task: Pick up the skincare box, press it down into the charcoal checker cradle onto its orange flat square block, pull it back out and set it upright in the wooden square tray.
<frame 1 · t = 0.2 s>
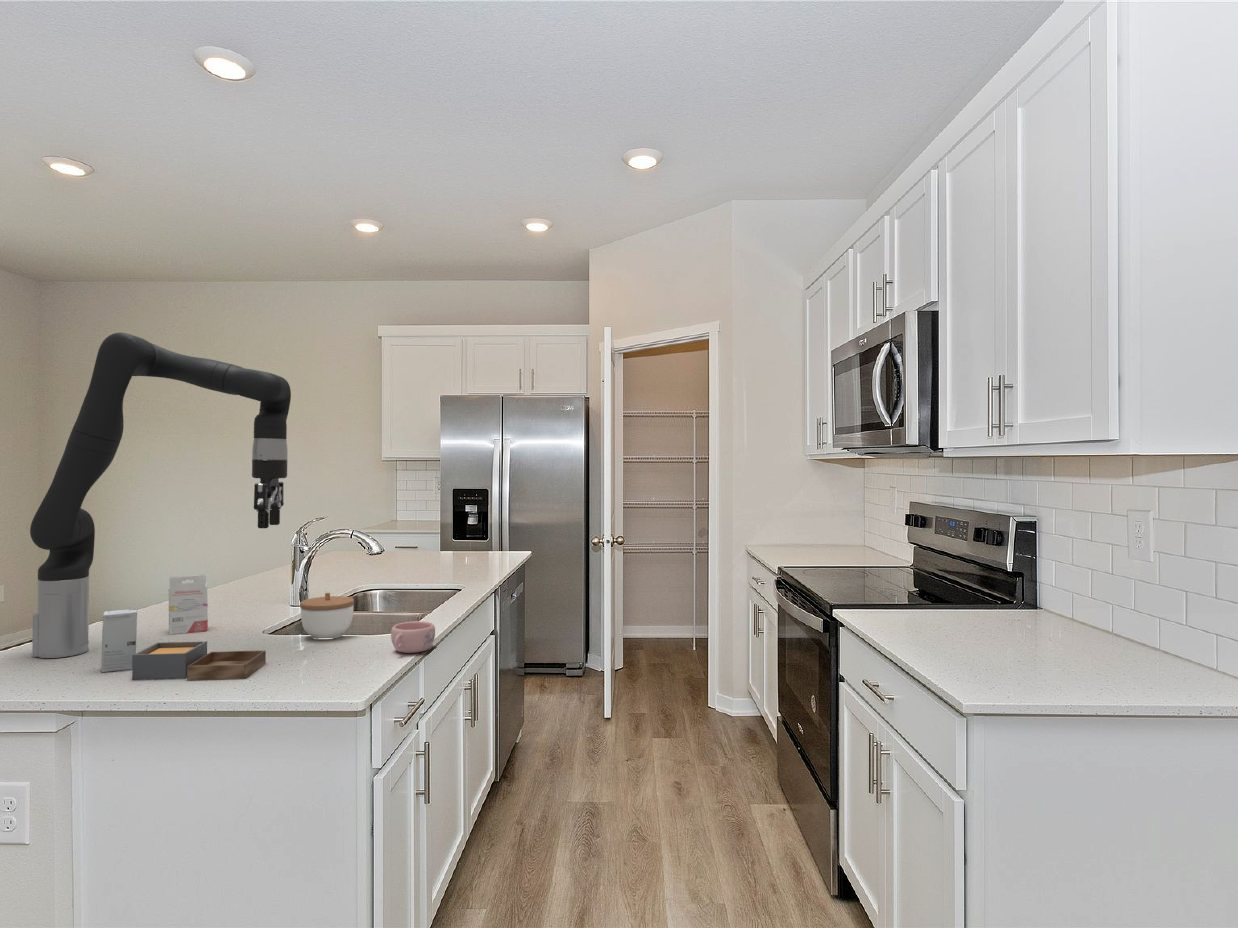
hand: (268, 526, 168), 29 cm above the countertop, tool pointing down, fingers open, 8 cm apart
skincare box: (119, 669, 150), on the countertop
wooden square tray: (227, 671, 149), on the countertop
orange flat square block: (171, 656, 148), point 3 cm above the countertop, slide at 0.0 cm
mug: (410, 652, 166), on the countertop
ink cartridge box: (188, 631, 184), on the countertop
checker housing: (171, 671, 148), on the countertop
lidded bowl: (327, 637, 179), on the countertop
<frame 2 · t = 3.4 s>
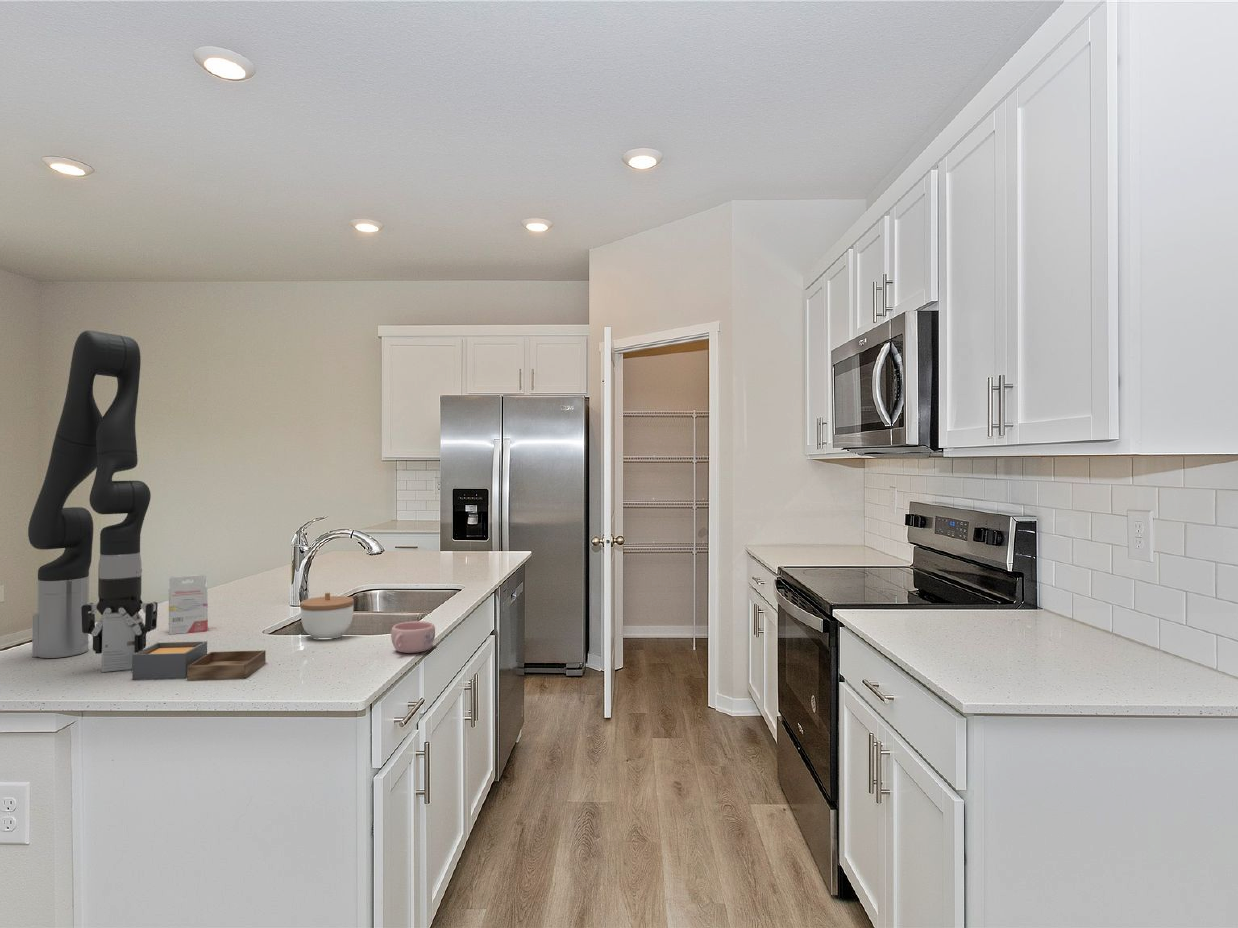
hand: (119, 652, 150), 3 cm above the countertop, tool pointing down, fingers closed on skincare box, 7 cm apart
skincare box: (119, 669, 150), on the countertop, touching gripper
everything else where it was.
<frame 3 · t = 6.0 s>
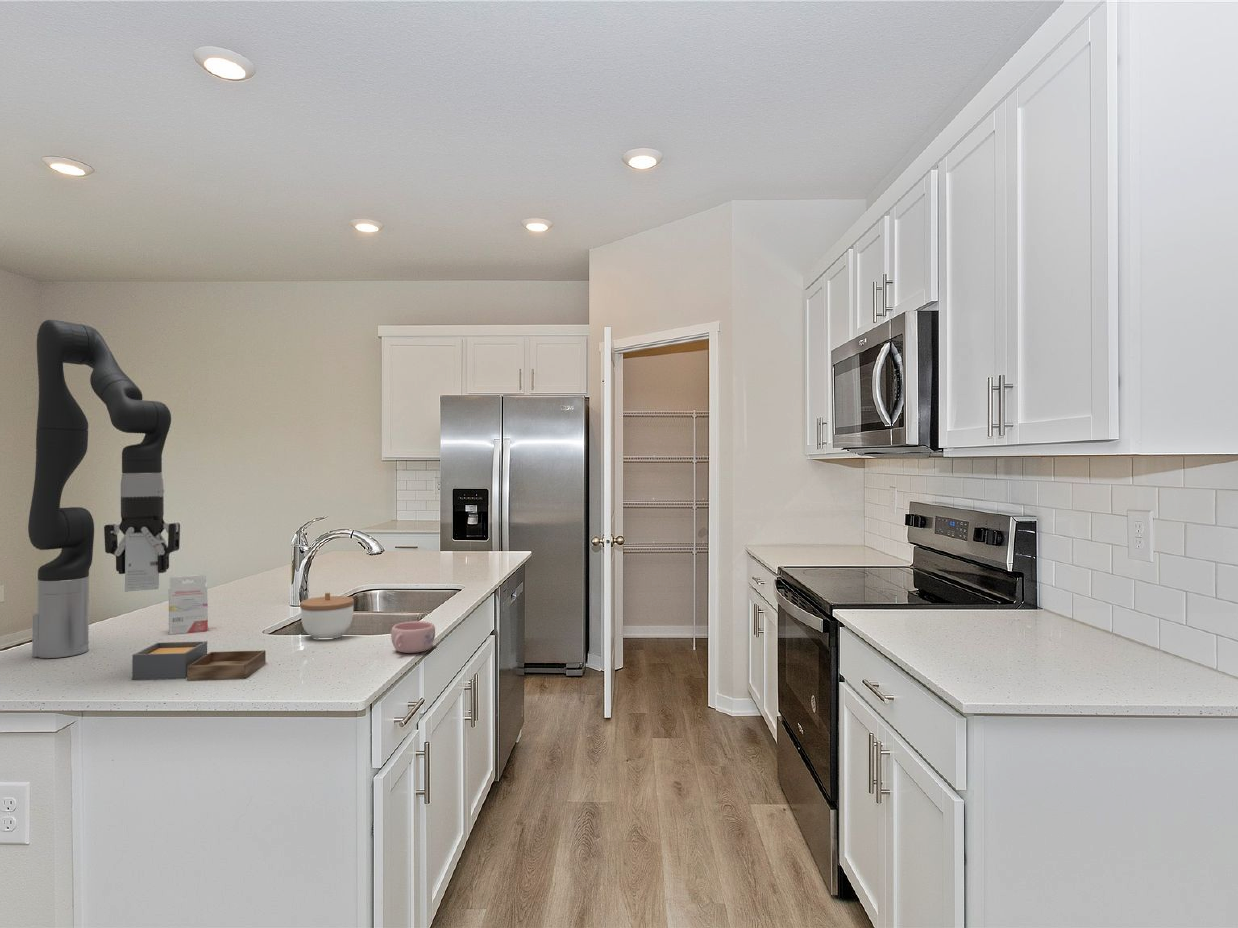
hand: (142, 572, 149), 20 cm above the countertop, tool pointing down, fingers closed on skincare box, 7 cm apart
skincare box: (142, 590, 149), point 17 cm above the countertop, touching gripper
everything else where it was.
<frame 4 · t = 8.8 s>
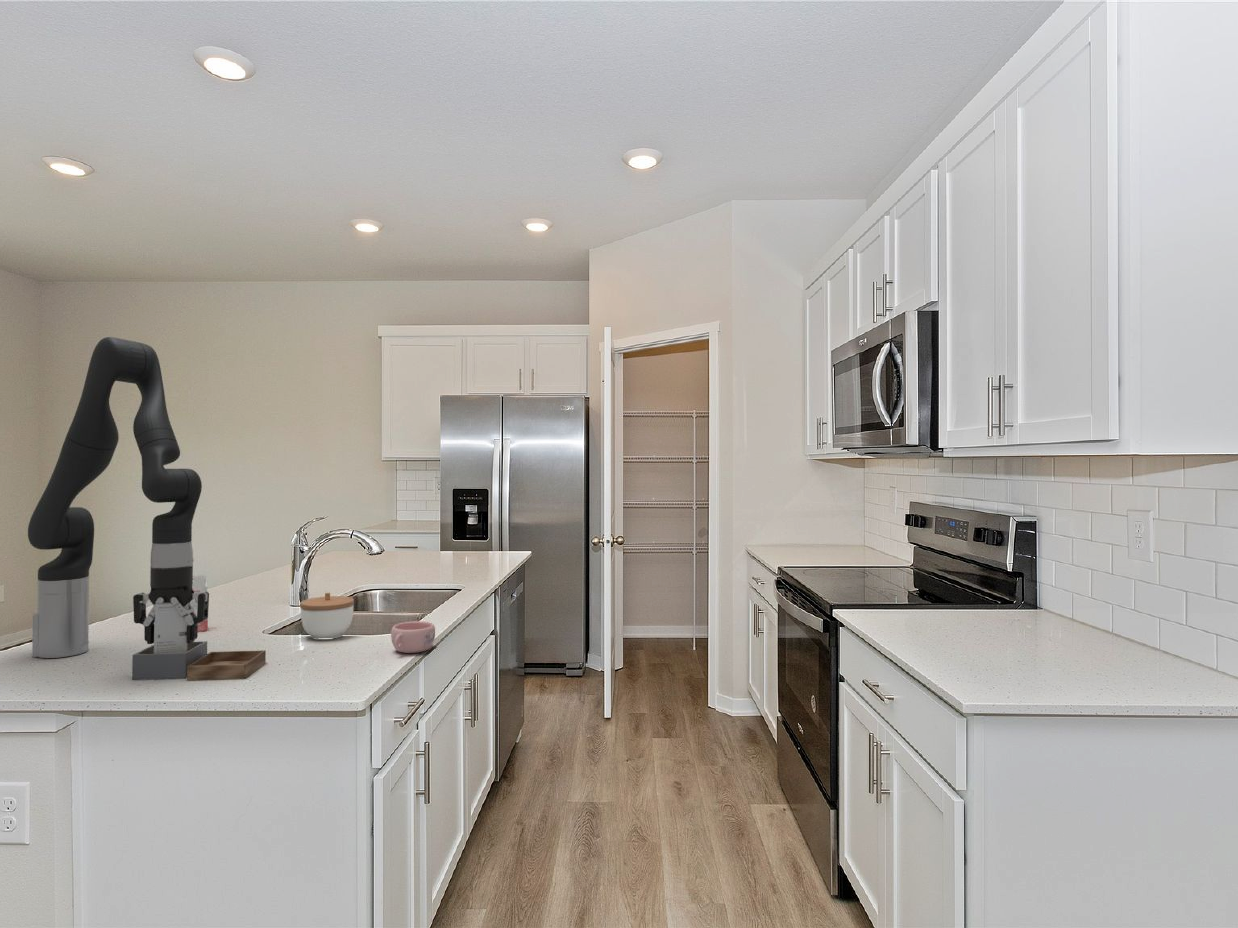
hand: (171, 642, 148), 6 cm above the countertop, tool pointing down, fingers closed on skincare box, 7 cm apart
skincare box: (171, 660, 148), point 2 cm above the countertop, touching orange flat square block, gripper
orange flat square block: (171, 662, 148), point 2 cm above the countertop, slide at 1.4 cm, touching skincare box
everything else where it was.
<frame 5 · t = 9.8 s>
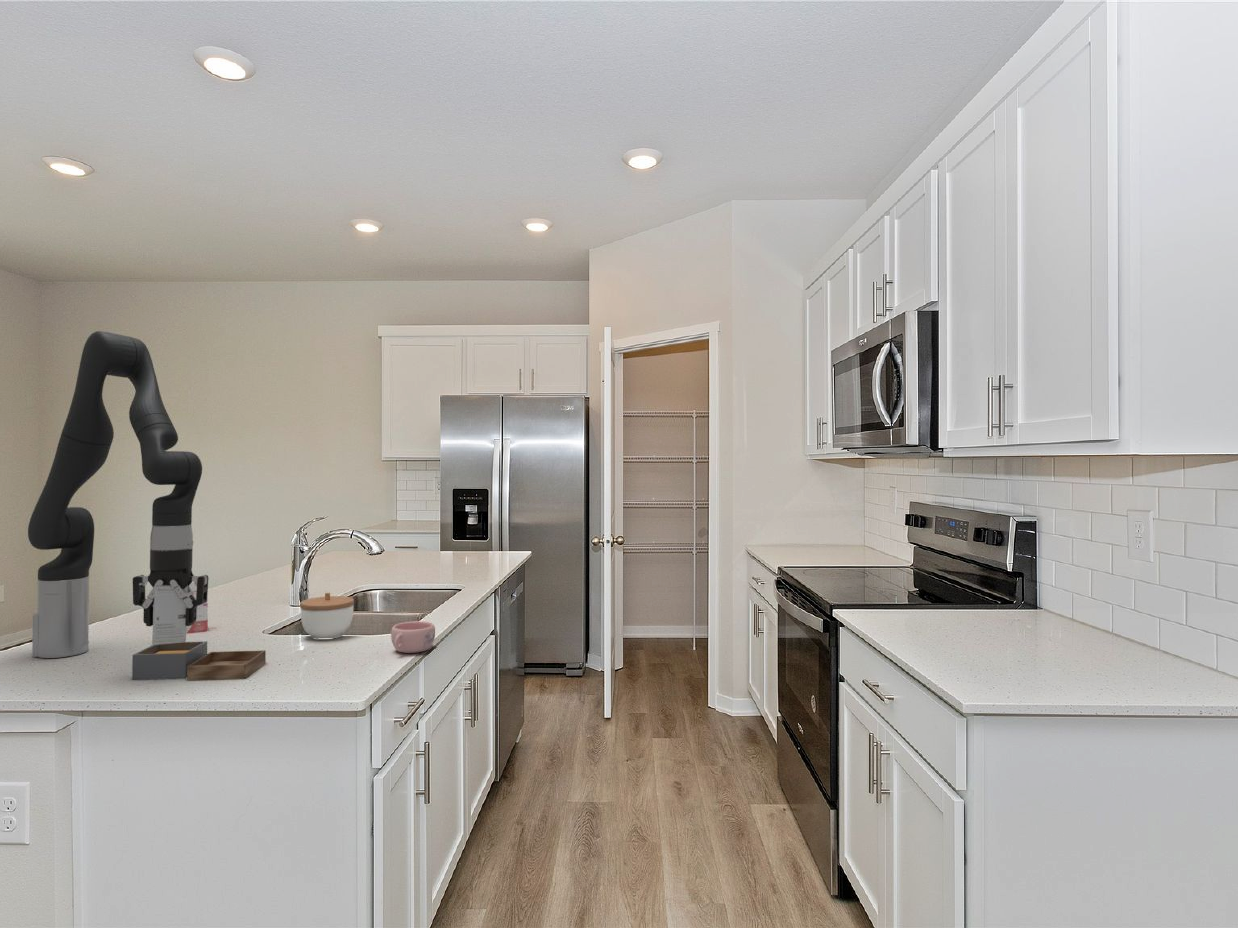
hand: (170, 625, 148), 10 cm above the countertop, tool pointing down, fingers closed on skincare box, 7 cm apart
skincare box: (169, 642, 148), point 6 cm above the countertop, touching gripper
orange flat square block: (171, 659, 148), point 3 cm above the countertop, slide at 0.6 cm
everything else where it was.
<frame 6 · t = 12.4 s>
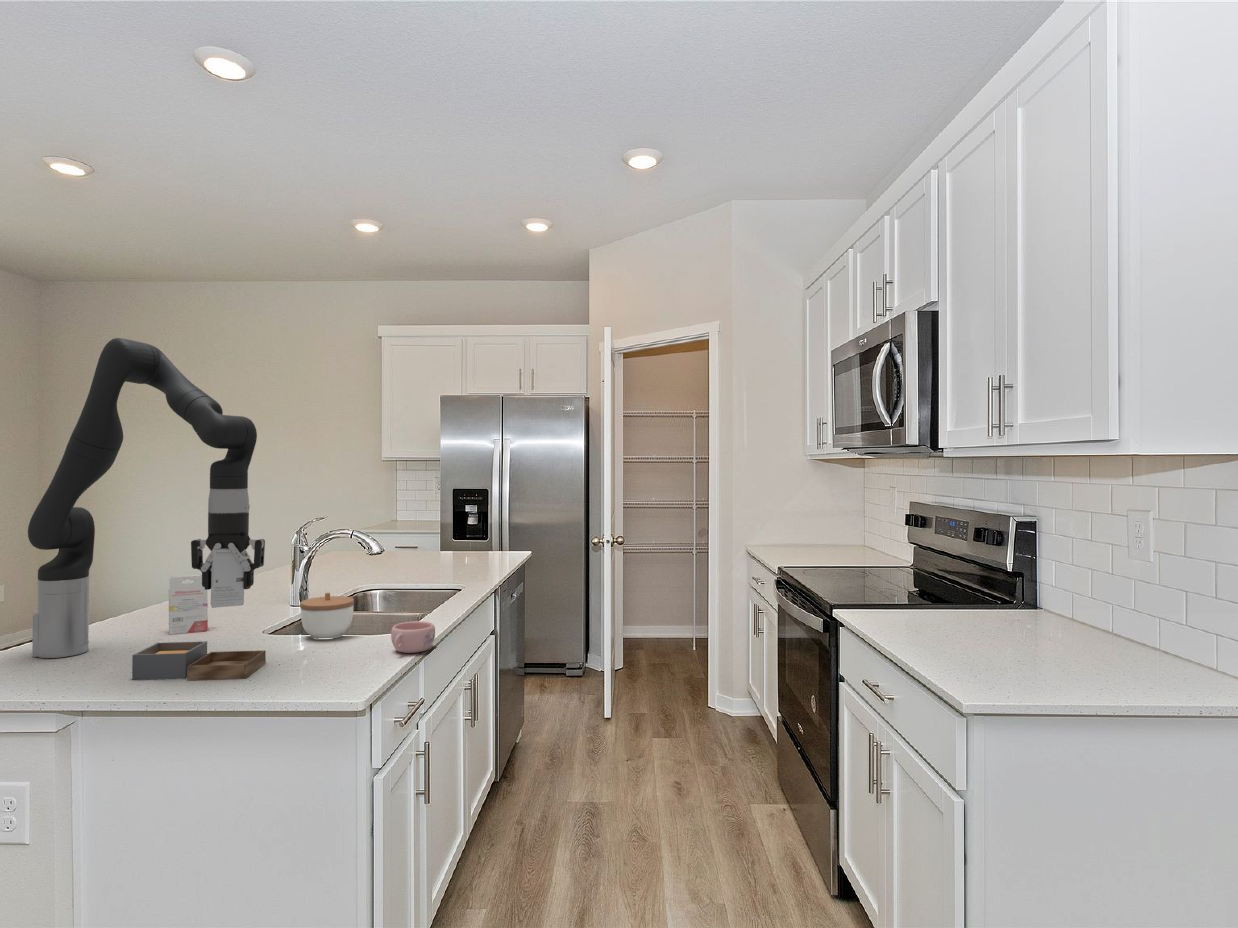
hand: (228, 588, 149), 17 cm above the countertop, tool pointing down, fingers closed on skincare box, 7 cm apart
skincare box: (227, 606, 149), point 14 cm above the countertop, touching gripper
everything else where it was.
when the fingers open (5 cm above the countertop, at t = 15.0 s): skincare box drops 1 cm, resting on wooden square tray.
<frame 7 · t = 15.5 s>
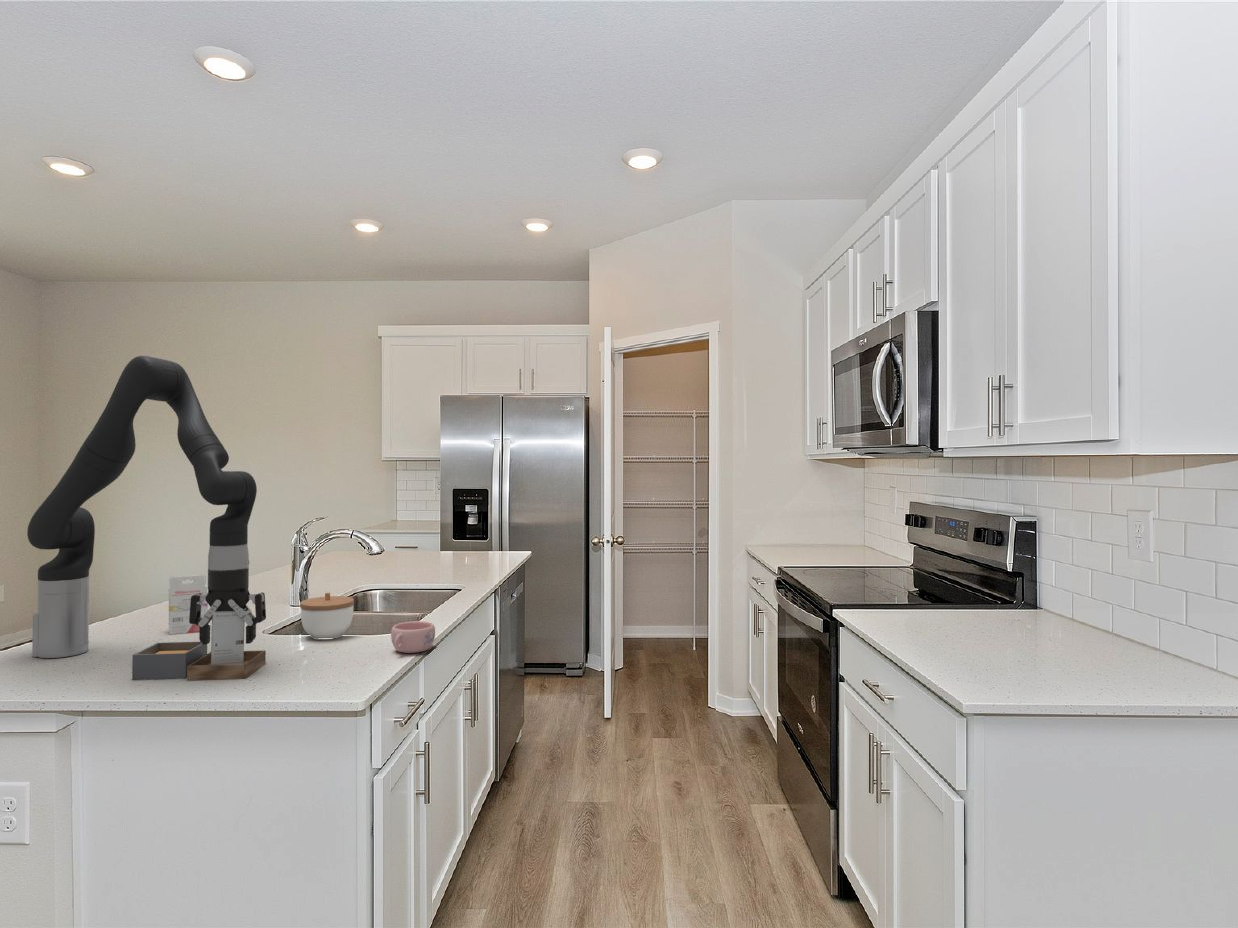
hand: (227, 643, 149), 6 cm above the countertop, tool pointing down, fingers open, 8 cm apart
skincare box: (227, 668, 149), point 1 cm above the countertop, touching wooden square tray
everything else where it was.
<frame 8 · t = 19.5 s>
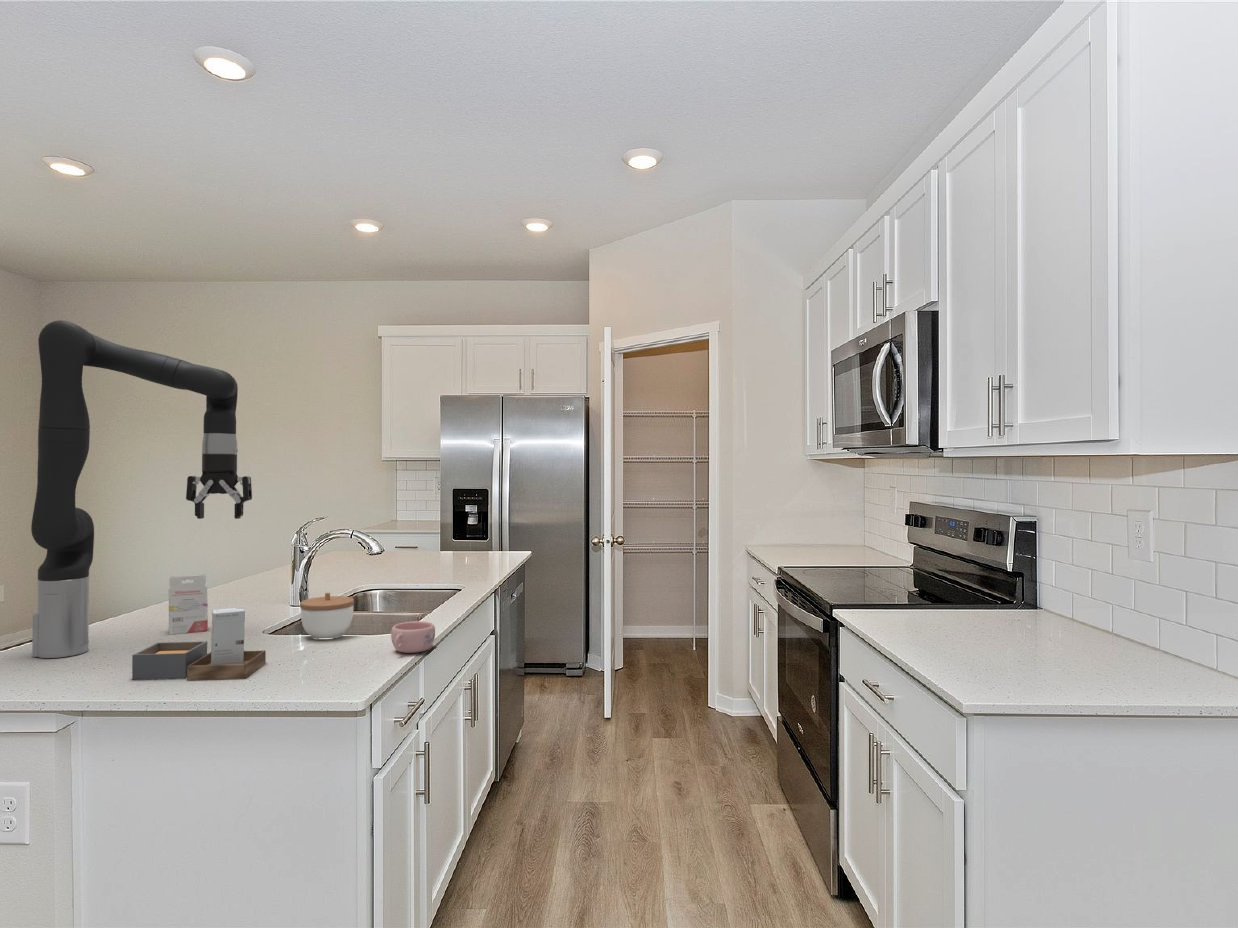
hand: (219, 518, 174), 30 cm above the countertop, tool pointing down, fingers open, 8 cm apart
nothing on the countertop moved.
at the end: skincare box 0.1 cm off-centre on the wooden square tray, point 0.6 cm above the wooden square tray's base; skincare box tilted 0°; the gripper is holding nothing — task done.
